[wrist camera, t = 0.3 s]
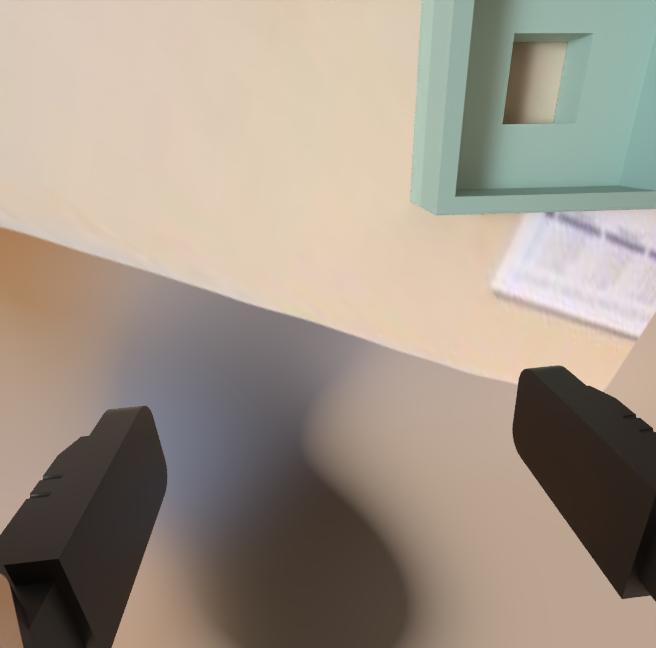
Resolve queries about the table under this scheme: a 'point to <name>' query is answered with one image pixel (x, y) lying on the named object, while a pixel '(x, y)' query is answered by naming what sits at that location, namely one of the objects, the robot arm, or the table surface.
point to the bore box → (535, 139)
